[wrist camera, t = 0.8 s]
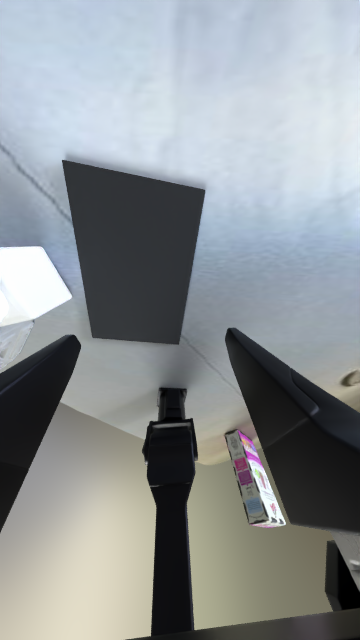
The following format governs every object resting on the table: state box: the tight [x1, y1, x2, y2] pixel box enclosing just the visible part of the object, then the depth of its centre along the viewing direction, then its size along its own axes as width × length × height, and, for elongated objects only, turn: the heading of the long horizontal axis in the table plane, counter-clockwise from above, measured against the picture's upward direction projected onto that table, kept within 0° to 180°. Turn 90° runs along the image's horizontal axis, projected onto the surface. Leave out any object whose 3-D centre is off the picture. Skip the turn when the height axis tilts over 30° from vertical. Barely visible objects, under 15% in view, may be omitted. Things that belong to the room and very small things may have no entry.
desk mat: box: [62, 160, 205, 344], centre depth 21 cm, size 22×15×1 cm
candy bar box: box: [225, 430, 286, 528], centre depth 39 cm, size 11×5×16 cm, turn 39°
